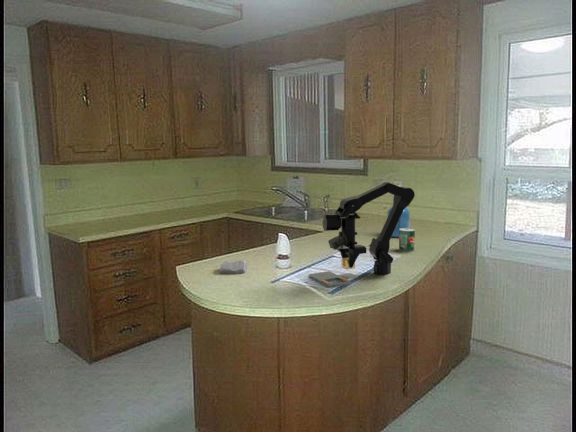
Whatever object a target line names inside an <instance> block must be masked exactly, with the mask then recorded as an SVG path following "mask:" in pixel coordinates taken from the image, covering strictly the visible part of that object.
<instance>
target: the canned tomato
mask: <svg viewBox="0 0 576 432" xmlns="http://www.w3.org/2000/svg"><path fill="white" fill-rule="evenodd" d="M415 232H416V229H415V228H412V227H410V228H401V229H399V239H398V250H399V252H402V253H403V252H404V253H413V252H414V251H415V244H416V243H415V241H416V234H415Z"/></svg>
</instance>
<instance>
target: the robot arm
mask: <svg viewBox="0 0 576 432" xmlns="http://www.w3.org/2000/svg"><path fill="white" fill-rule="evenodd" d="M399 186H400V185H397V184H394V183H392V182H388V181H384V182H382V183H381V184H379V185H377V186H374V187H373V188H371V189H369V190H366V191H365V192H362V193H360V194H358V195H353V196H349V197H345V198H343V199H341V201H340V202H339V206H338V208H337V209H336V210H335V212H334V213H325V214H323V215H324V217H323V219H322V221H321V222H322V229H323V231H324V232H330V231H339V232H338V235H337V236H335V237H333V238H331V239H329V240H327V241H328V244H329V245H328V246H329V248H330V249H333V250H337V252H339V253H340V256H341V259H342V258H346V257H349V266H350V268H352V267H353V265H354V263H355V264H356V262H357V261H356V260H357V258H358V257H359V255H362V254H367V247H366V246H365V245H362V244H358V242H357V241H356V236H358V231H356V220H357V219H361V216H360V215H359V214H358V213H357V212H358V211H359V210H360V209H361V208H362V207H363V206H364V205H367V203H369V202H372V201H374V200H376V199H378V198H380V197H382V196H384V195H387V194H390V195H393V205H392V206H393V207H392V206H391V207H392V209H391V211H390V214H389V216H388V218H387V217H386V220H385V222H384V225H383V226H382V229H381V232H380V233H379V234H378V236H377V237H376V238H375V237H373V238H372V239H371V242H370V244H369V245H368V247H369V248H368V252H369V255H370V256H372V257H373V260H374V261H373V262H374V264H373V275H376V276H387V275H389V274H392V272H391V271H392V263H393V261H394V257H393V256H392V255H391V254H390V253H389V252H390V247H391V246H390V243H391V240H392V239H391V238H393V237H392V234H393V232H394V230H395V228H396V226H397V224H398V221H399V219H400V217H401V215H402V213H403V211H404V209H405V208H406V207H407V208H408V206H410V204H411V203H412V201H413V200H414V198H415V195H416V194H415V191H414V190H413V189H412V188H411V187H405V186H401V187H399ZM340 230H341V231H340Z"/></svg>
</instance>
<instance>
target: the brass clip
mask: <svg viewBox="0 0 576 432" xmlns="http://www.w3.org/2000/svg"><path fill="white" fill-rule="evenodd" d="M341 268H342V269H344V270H347V271H348V270H353V269H356V262H355V263H354V265H353V267H352V268H350V266H349V257H346V258H342V257H341Z"/></svg>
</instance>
